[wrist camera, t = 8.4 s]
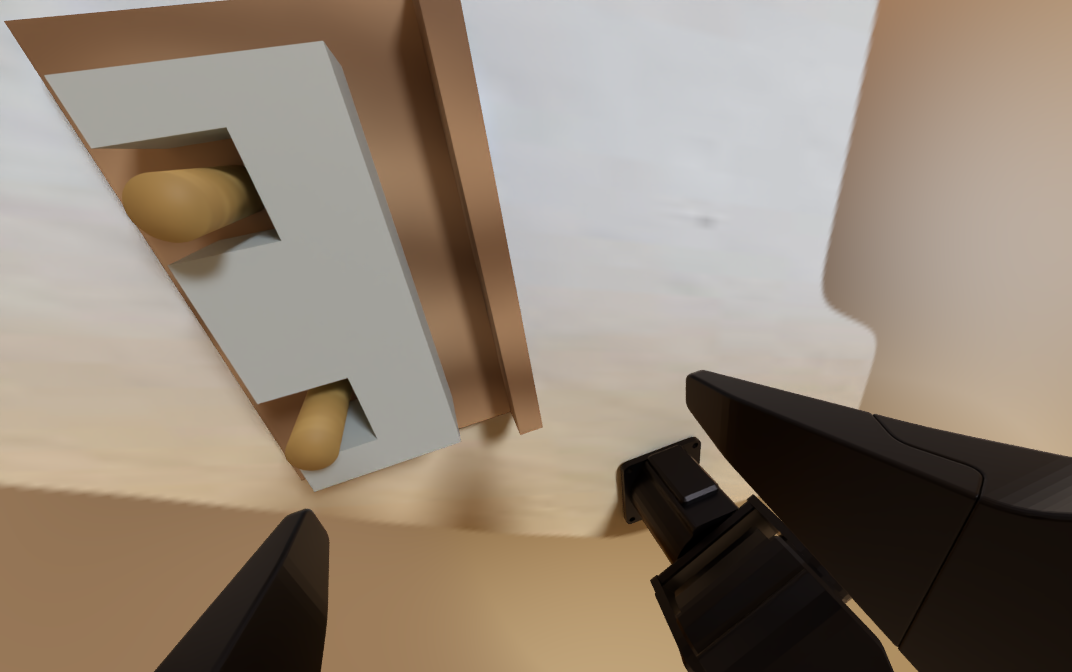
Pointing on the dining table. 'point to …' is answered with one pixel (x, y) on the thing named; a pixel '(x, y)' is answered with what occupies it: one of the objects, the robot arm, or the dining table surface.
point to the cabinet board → (399, 157)
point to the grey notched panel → (291, 240)
